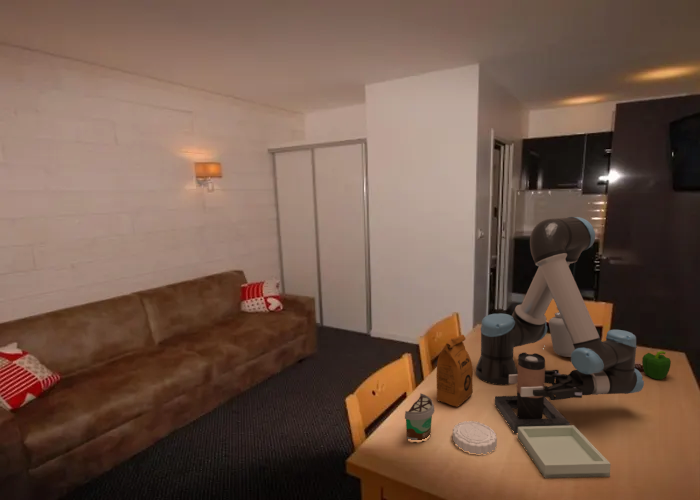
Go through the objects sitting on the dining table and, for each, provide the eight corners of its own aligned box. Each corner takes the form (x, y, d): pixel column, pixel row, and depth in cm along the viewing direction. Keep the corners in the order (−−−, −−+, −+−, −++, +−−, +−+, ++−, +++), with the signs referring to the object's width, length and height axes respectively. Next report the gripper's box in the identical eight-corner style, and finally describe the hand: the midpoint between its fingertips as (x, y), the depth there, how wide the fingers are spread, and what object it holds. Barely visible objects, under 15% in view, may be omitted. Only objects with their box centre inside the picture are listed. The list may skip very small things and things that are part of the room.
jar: (536, 351, 171) (538, 296, 168) (555, 343, 179) (558, 290, 175) (580, 366, 155) (583, 305, 152) (599, 357, 163) (602, 299, 159)
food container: (425, 451, 107) (425, 417, 106) (405, 444, 111) (404, 411, 109) (440, 428, 118) (440, 397, 116) (421, 422, 121) (421, 392, 120)
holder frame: (494, 404, 129) (494, 396, 129) (542, 403, 129) (543, 395, 129) (514, 433, 114) (514, 424, 113) (569, 432, 113) (569, 423, 113)
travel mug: (532, 427, 116) (534, 364, 114) (510, 415, 123) (512, 355, 120) (548, 420, 120) (551, 358, 117) (527, 408, 127) (529, 350, 124)
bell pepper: (643, 379, 143) (645, 353, 142) (639, 370, 150) (641, 345, 149) (672, 383, 139) (674, 357, 138) (666, 374, 146) (668, 349, 145)
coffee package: (477, 397, 134) (478, 336, 131) (457, 411, 126) (457, 347, 123) (452, 387, 142) (453, 329, 139) (432, 400, 134) (432, 339, 131)
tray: (517, 438, 112) (517, 426, 111) (573, 436, 111) (573, 425, 111) (544, 478, 96) (545, 465, 95) (609, 476, 96) (610, 463, 95)
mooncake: (443, 438, 113) (443, 427, 113) (473, 425, 119) (473, 414, 118) (475, 462, 103) (475, 449, 102) (505, 446, 108) (506, 435, 108)
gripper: (609, 411, 111) (530, 415, 110) (568, 378, 131) (501, 381, 130) (611, 386, 110) (531, 390, 109) (569, 357, 130) (501, 360, 129)
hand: (515, 385), depth 120 cm, fingers closed on travel mug, 7 cm apart
